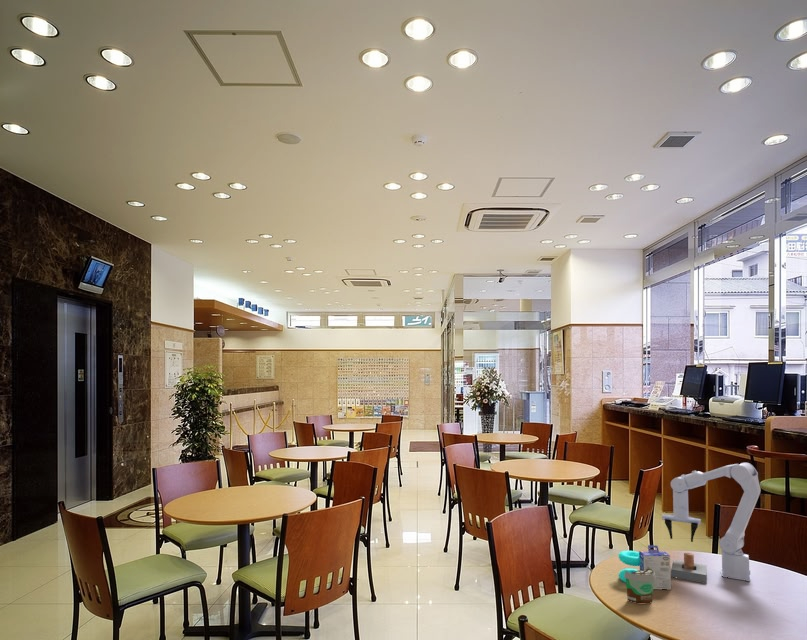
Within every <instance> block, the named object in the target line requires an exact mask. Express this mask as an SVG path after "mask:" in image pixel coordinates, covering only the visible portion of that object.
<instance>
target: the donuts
mask: <svg viewBox="0 0 807 640" xmlns="http://www.w3.org/2000/svg"><path fill="white" fill-rule="evenodd" d="M618 558H619V559H618V560H619V561H621V563H623V564H625V565H628V566H632V567H640V565H641V560H640V557H639V551H636V550H622V551H620V552H619V554H618ZM637 570H638V569H635V568H624V569H621V570H620V571H619V573H618V577H619V579H620V580H621V582H624V583H626V578H624V576H625V571H626V572H629V573H632V572H635V571H637Z"/></svg>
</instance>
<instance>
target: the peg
mask: <svg viewBox="0 0 807 640" xmlns="http://www.w3.org/2000/svg"><path fill="white" fill-rule="evenodd" d="M683 562H684V569H690V570H694V563H695V555H694V554H693V553H691V552H684V553H683Z"/></svg>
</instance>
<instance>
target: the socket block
mask: <svg viewBox="0 0 807 640" xmlns="http://www.w3.org/2000/svg"><path fill="white" fill-rule="evenodd" d="M707 568H708V567H707V565H706V564H700V563H695V562H694V570H690V569H684V561H680V560H675V559H673V560H672V563H671V568H670V572H671V578H673V577H677V578H676V579H679V578H682V579H681V580H685V579H686V581H691V582H696V581H697V582H696V583H702V582H704V583H703V584H707V583H708V582H707V581H708V570H707Z"/></svg>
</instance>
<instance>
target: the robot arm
mask: <svg viewBox="0 0 807 640" xmlns="http://www.w3.org/2000/svg"><path fill="white" fill-rule="evenodd" d="M722 477H727V478H729V479H731V478H732V479H734V481H735V482H736V483H737V484H739V485H740V486H741V489H742V490H743V493H742V496H741V498H740V501H739V503H738V506H737V509H736V511H735V514H734V516H733V518H732V521H731V524H730V525H729V527H728V529H727V531H726V533H725V534H724V536H723V537H721V538H720V539H719V547H720V549H721V569H720V576H721V577H722V576H723V577H722V578H727V577H728V579H734V580H741V581H745V580H746V581H747V582H751V577H750V576H751V569H750V557H749V556H750V555H749V554H746V553H744V552H743V550H742V548H743V547H744V545H745V535H746V534H745V531H746V528H747V526H748V525H749V522H750V520H751V519H750V518H751V516H752V515H753V514H752V513H753V511H754V509H755V507H756V504H757V502H758V499H759V497H760V494H761V491H762V490H761V485H760V481H759V472H758V471H757V469H756V467H754V465H753V464H751V463H749V462H741V463H740V464H739V463H734V464H733V463H732V464H728V465H725V466H721V467H718V468H715V469H712V470H710V471H709V470H708V471H705V472H702V471H699V470H698V471H697V470H696V469H695V470H692V471H691V473H688V474H681V475H680V476H677V477H674V478H673V479H672V480H671V481H670V488H671V489H672V498H673V499H672V506H673V508H672V509H673V514H661V521H664V524H665V526H666V528H667V530H668V533H669V534H668V535H669V538H670V540H673V526H672V525H673V523H672V522H677V523H678V522H679V523H685V524H687V523H688V524H690V533H691V535H690V542H691V543H693V542H694V537H695V533H696V531H697V529H698V527H699V526H701V525H702V522H701V521H702V519H700V518H696V517H692V516H689V515H690V514H689V513H690V512H689V490H692V489H695V488H698V487H701V486H705V485H706V484H707V482H708V481H710V480H714V479H718V478H722Z"/></svg>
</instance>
